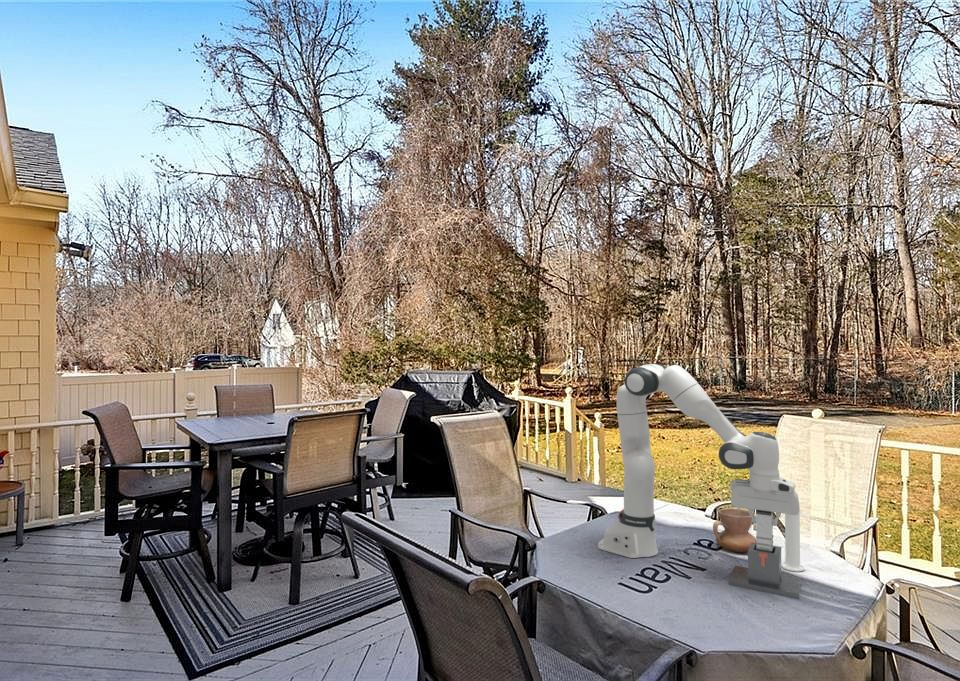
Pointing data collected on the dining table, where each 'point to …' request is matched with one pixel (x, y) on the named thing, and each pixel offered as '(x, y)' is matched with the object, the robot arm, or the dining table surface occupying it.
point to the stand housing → (765, 574)
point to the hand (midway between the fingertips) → (764, 524)
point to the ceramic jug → (734, 529)
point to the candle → (792, 543)
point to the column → (764, 531)
